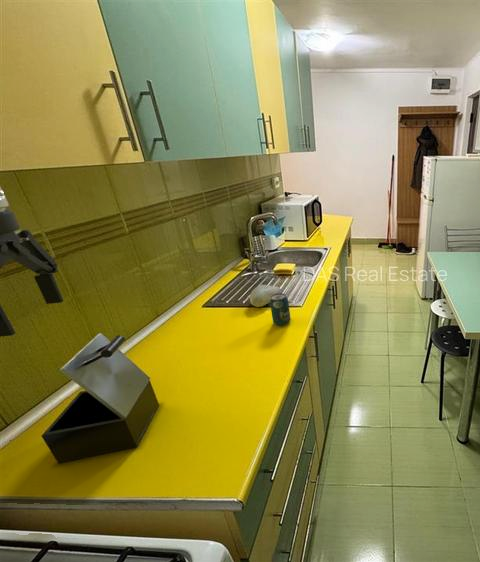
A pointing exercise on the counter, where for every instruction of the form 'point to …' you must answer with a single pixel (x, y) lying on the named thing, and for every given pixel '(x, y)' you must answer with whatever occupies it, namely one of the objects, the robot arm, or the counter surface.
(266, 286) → the rock
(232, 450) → the counter surface
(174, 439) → the counter surface
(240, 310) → the counter surface
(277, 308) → the soda can
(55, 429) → the black hollow box
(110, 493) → the counter surface
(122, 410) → the lid
